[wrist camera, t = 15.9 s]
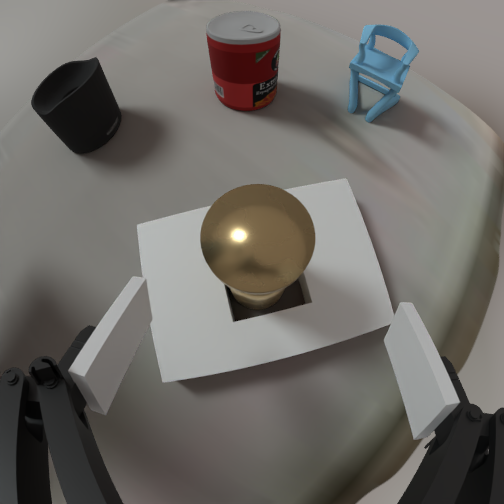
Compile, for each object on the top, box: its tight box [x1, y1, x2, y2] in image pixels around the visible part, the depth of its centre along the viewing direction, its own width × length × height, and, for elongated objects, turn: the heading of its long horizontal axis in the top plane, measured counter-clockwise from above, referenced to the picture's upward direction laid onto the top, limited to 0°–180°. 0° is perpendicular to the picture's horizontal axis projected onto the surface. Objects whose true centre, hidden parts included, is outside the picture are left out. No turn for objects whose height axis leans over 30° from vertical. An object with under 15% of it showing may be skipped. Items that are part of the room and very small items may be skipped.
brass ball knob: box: [200, 184, 315, 310], centre depth 21 cm, size 6×6×12 cm
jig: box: [137, 178, 394, 382], centre depth 25 cm, size 20×14×3 cm
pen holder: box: [31, 57, 121, 153], centre depth 28 cm, size 9×9×10 cm
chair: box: [348, 25, 419, 122], centre depth 28 cm, size 8×8×12 cm
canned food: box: [206, 11, 281, 111], centre depth 29 cm, size 8×8×11 cm
